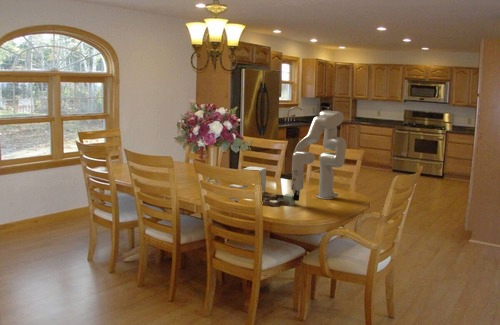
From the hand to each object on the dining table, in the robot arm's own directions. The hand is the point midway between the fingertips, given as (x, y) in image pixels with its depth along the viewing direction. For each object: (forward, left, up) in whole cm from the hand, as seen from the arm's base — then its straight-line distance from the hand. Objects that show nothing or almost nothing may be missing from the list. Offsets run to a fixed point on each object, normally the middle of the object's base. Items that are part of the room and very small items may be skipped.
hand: (296, 200), depth 317 cm
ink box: (+34, +19, -3) cm, 39 cm away
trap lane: (+15, 0, -3) cm, 15 cm away
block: (+5, 0, -3) cm, 6 cm away
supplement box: (+40, -17, -3) cm, 44 cm away
